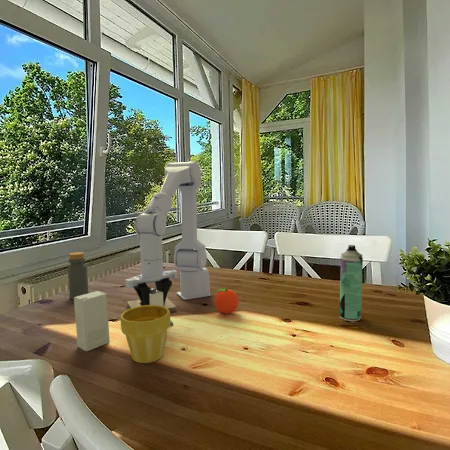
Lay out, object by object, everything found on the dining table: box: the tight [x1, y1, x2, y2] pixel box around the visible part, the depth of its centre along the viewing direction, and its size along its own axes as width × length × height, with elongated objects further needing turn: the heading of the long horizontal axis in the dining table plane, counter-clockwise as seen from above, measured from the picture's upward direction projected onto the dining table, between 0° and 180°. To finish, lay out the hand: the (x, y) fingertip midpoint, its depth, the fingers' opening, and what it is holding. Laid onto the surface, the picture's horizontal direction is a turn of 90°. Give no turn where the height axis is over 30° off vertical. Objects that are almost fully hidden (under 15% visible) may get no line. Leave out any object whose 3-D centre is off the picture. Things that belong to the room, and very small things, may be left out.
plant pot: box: [120, 305, 171, 364], centre depth 76 cm, size 10×10×10 cm
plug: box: [149, 287, 164, 306], centre depth 95 cm, size 4×4×8 cm
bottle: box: [67, 251, 89, 301], centre depth 118 cm, size 6×6×15 cm
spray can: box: [339, 244, 364, 321], centre depth 95 cm, size 6×6×20 cm
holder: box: [126, 297, 177, 313], centre depth 107 cm, size 12×12×1 cm
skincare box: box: [73, 290, 110, 352], centre depth 82 cm, size 6×4×12 cm
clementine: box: [214, 288, 240, 315], centre depth 102 cm, size 8×7×7 cm
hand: (153, 308), depth 95 cm, fingers closed on plug, 4 cm apart
